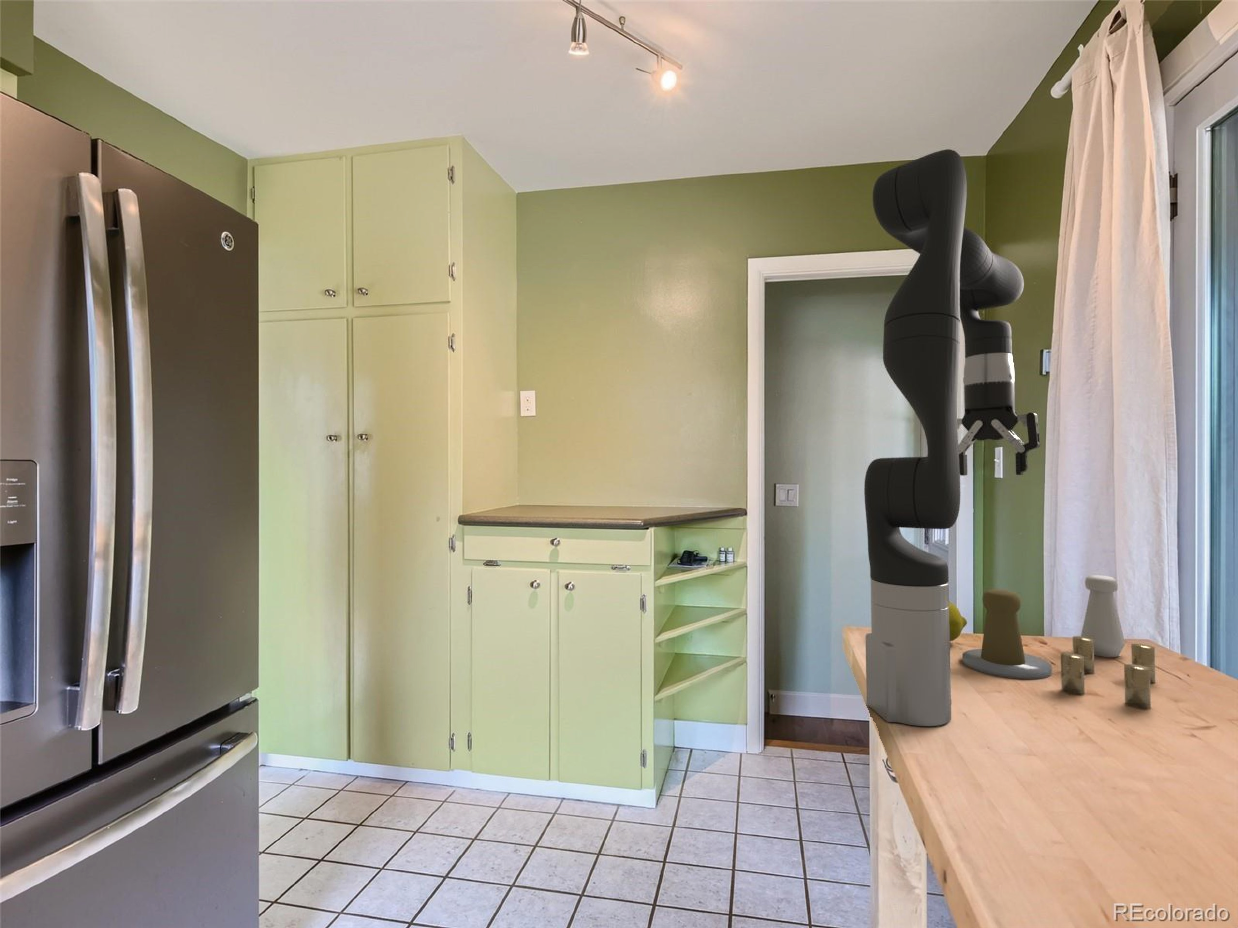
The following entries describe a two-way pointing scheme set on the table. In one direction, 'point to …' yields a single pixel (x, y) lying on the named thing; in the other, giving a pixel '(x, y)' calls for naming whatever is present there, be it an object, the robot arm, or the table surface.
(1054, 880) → the table surface
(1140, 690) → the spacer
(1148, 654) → the cylinder
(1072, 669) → the cylinder
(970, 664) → the slate coaster
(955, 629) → the lemon
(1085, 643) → the cylinder
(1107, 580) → the salt shaker
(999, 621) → the cork
